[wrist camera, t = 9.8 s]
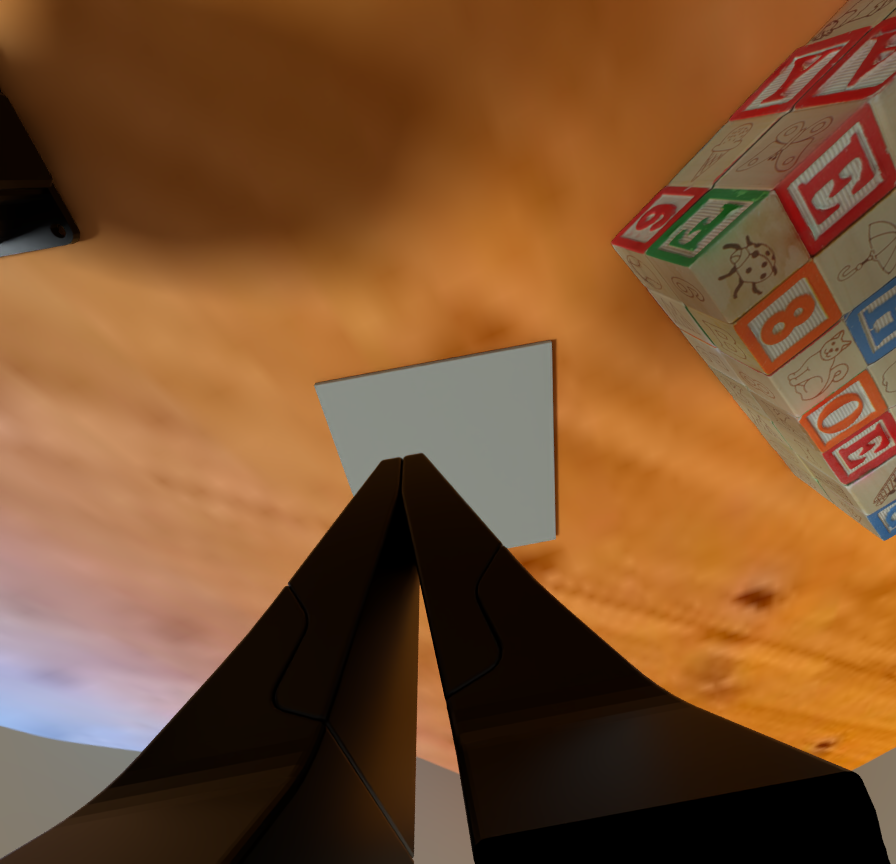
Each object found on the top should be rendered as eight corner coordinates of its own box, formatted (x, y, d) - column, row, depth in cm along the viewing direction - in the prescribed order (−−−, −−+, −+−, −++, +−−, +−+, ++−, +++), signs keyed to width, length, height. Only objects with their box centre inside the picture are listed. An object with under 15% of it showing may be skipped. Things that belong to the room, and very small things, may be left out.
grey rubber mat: (380, 568, 28) (380, 572, 28) (315, 383, 21) (314, 385, 21) (554, 535, 28) (555, 539, 28) (549, 340, 21) (551, 342, 21)
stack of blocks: (789, 475, 28) (991, 340, 24) (882, 545, 23) (1162, 386, 19) (606, 239, 19) (882, -40, 15) (689, 264, 14) (1150, -159, 10)
